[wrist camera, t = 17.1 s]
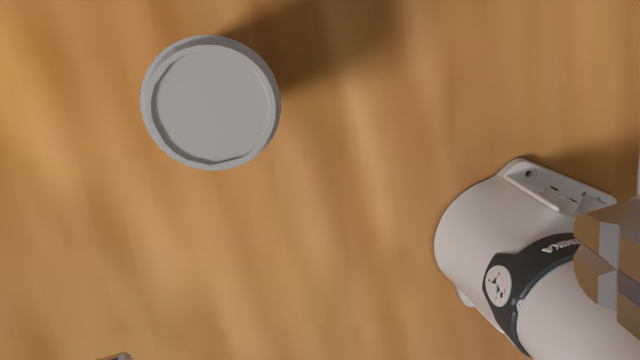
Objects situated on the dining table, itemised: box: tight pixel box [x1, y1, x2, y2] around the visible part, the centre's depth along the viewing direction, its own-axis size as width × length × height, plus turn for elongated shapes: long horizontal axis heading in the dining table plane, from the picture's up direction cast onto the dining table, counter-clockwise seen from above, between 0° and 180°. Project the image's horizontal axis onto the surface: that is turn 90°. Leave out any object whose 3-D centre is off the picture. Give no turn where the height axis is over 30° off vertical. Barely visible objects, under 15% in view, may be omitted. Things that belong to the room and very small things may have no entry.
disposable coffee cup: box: [140, 35, 281, 171], centre depth 37 cm, size 10×10×12 cm
